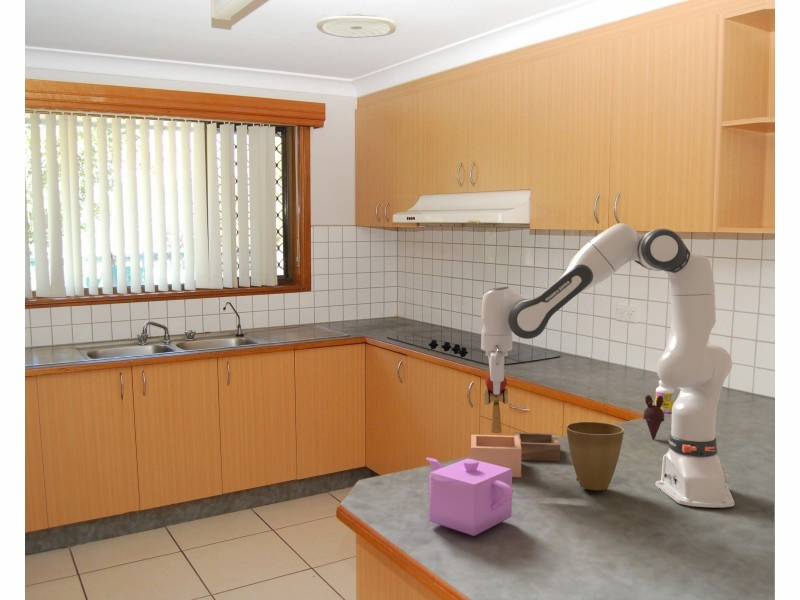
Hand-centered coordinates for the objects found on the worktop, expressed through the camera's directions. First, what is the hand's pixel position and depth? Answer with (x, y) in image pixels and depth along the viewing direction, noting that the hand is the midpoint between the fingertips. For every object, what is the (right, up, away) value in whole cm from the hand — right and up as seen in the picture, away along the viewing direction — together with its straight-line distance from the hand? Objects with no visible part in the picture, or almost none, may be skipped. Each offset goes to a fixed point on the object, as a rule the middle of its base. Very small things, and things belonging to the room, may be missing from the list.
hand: (496, 391), depth 205 cm
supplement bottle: (+74, -18, +69) cm, 102 cm away
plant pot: (+24, -24, -13) cm, 37 cm away
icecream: (+57, -21, +33) cm, 68 cm away
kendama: (0, -12, +2) cm, 13 cm away
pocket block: (+15, -22, +16) cm, 31 cm away
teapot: (-12, -26, -35) cm, 45 cm away
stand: (0, -23, +2) cm, 23 cm away
